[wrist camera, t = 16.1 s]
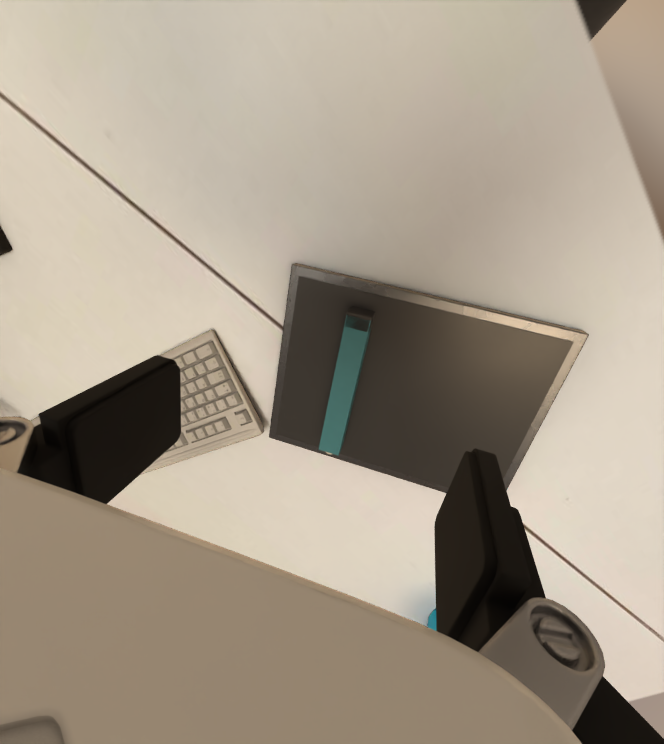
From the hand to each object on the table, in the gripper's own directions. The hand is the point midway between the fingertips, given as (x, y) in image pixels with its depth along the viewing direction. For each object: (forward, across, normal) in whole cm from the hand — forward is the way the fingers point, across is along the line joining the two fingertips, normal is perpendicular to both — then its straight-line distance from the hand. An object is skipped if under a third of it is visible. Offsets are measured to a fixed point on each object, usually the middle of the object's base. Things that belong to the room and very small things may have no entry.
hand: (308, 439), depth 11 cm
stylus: (+17, +1, +6) cm, 18 cm away
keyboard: (+18, +22, +18) cm, 33 cm away
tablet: (+18, -3, +6) cm, 19 cm away
